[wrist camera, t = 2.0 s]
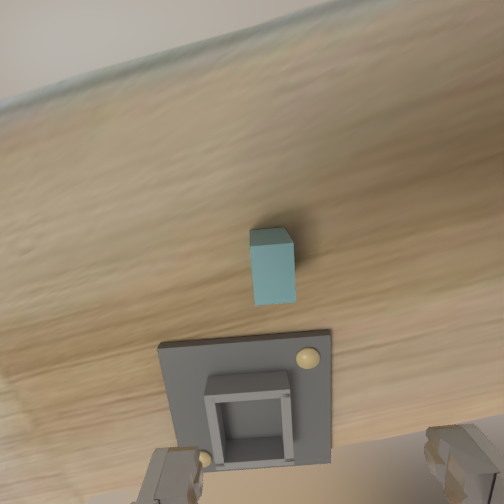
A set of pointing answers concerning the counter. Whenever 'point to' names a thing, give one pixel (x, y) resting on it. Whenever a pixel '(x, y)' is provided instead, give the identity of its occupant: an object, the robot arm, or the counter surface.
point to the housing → (251, 399)
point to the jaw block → (272, 266)
